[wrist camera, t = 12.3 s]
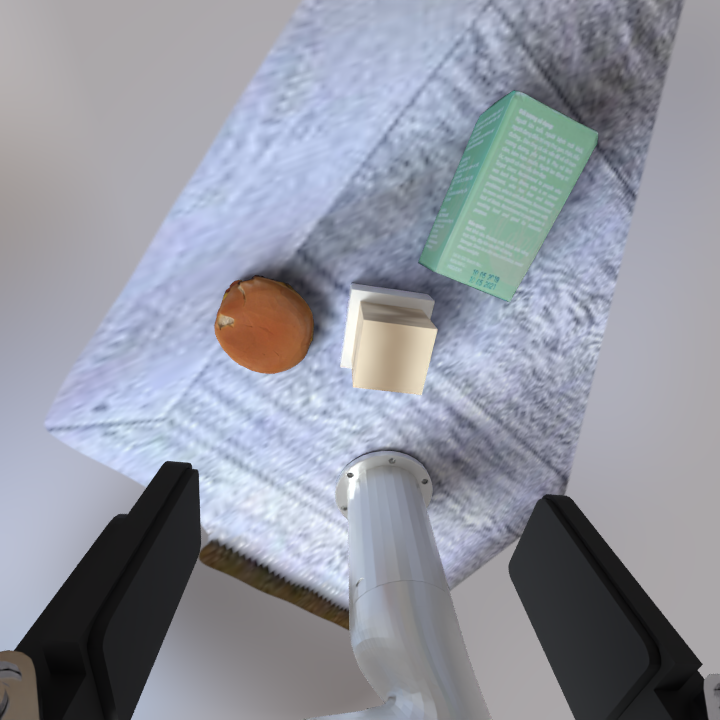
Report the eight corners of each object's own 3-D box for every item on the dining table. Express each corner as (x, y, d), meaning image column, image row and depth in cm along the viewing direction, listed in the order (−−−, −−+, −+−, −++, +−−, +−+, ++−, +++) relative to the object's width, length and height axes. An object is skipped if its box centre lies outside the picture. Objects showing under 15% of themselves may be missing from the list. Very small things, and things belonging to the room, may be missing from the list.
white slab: (411, 364, 39) (416, 376, 36) (340, 355, 38) (340, 367, 36) (427, 294, 36) (434, 301, 33) (350, 282, 35) (351, 289, 32)
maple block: (421, 309, 34) (437, 329, 28) (409, 366, 36) (421, 394, 30) (360, 301, 33) (363, 319, 27) (351, 359, 35) (353, 387, 30)
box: (551, 145, 31) (609, 127, 24) (480, 287, 36) (511, 306, 29) (479, 110, 30) (519, 81, 23) (415, 262, 35) (432, 275, 28)
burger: (317, 362, 39) (313, 381, 34) (231, 363, 38) (217, 382, 34) (313, 271, 35) (309, 280, 31) (218, 271, 34) (200, 280, 30)
